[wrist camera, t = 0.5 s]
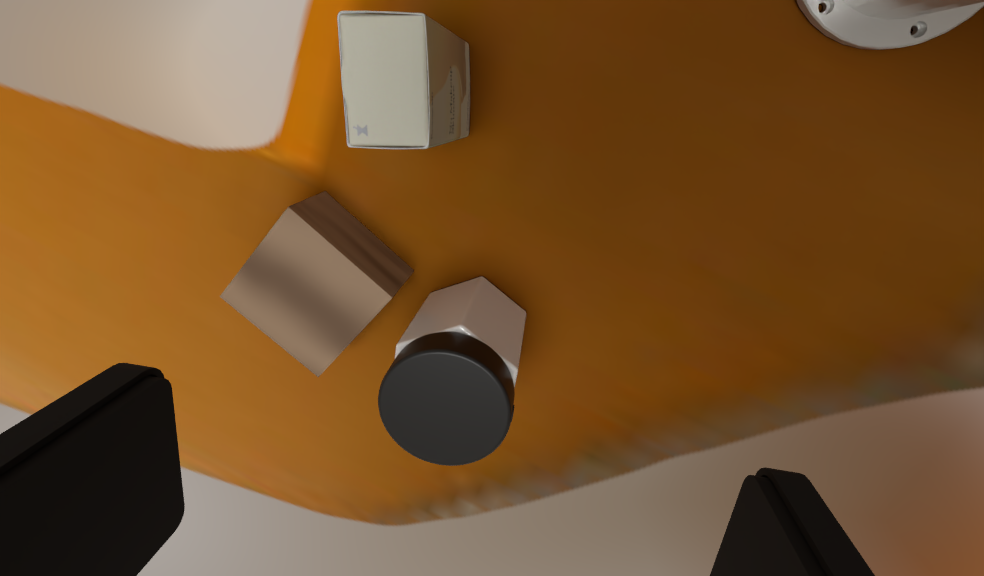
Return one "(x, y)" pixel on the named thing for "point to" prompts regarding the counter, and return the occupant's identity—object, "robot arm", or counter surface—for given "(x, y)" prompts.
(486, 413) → the jar
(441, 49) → the skincare box
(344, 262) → the brown square block
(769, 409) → the counter surface
